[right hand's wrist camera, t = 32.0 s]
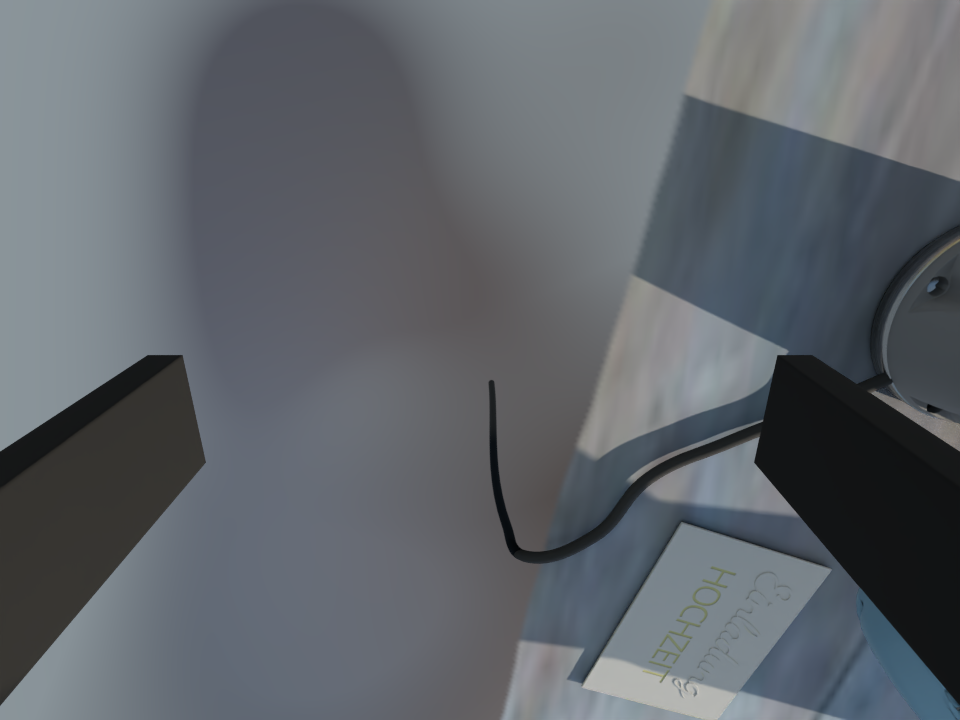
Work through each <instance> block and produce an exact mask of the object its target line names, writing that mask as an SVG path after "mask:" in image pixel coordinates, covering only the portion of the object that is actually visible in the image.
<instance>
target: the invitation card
mask: <svg viewBox="0 0 960 720" xmlns="http://www.w3.org/2000/svg"><path fill="white" fill-rule="evenodd" d="M831 571H832V569H831V568H828V567H825V566H822V565H819V564H815V563H812V562H809V561H806V560H803V559H799V558H796V557H793V556H790V555H787V554H783V553H780V552H777V551H774V550H771V549H767V548H764V547H761V546H758V545H754V544H751V543H748V542H745V541H742V540H738V539H735V538H732V537H729V536H726V535H722V534H719V533H716V532H713V531H710V530H706V529H703V528H700V527H697V526H694V525H690V524H687V523H684V522H681V523H680V525H679V526H678V528H677V530H676V531H675V533H674V535H673V536H672V538H671V540H670V541H669V543H668V544H667V546H666V548H665V549H664V551H663V553H662V554H661V556H660V558H659V559H658V561H657V562H656V564H655V566H654V567H653V569H652V571H651V572H650V574H649V576H648V577H647V579H646V581H645V582H644V584H643V585H642V587H641V589H640V590H639V592H638V594H637V595H636V597H635V599H634V600H633V602H632V603H631V605H630V607H629V608H628V610H627V612H626V613H625V615H624V617H623V618H622V620H621V621H620V623H619V625H618V626H617V628H616V630H615V631H614V633H613V635H612V636H611V638H610V639H609V641H608V643H607V644H606V646H605V648H604V649H603V651H602V653H601V654H600V656H599V658H598V659H597V661H596V662H595V664H594V666H593V667H592V669H591V671H590V672H589V674H588V676H587V677H586V679H585V680H584V682H583V684H582V685H581V686H582V688H586V689H590V690H593V691H597V692H601V693H605V694H609V695H613V696H616V697H620V698H624V699H628V700H632V701H635V702H639V703H643V704H647V705H651V706H654V707H658V708H662V709H666V710H670V711H674V712H677V713H681V714H685V715H689V716H693V717H696V718H700V719H704V720H717V719H718V718H719V717H720V716H721V714H722V713H723V712H724V710H725V709H726V708H727V706H728V705H729V704H730V702H731V701H732V700H733V699H734V697H735V696H736V695H737V693H738V692H739V691H740V689H741V688H742V687H743V686H744V684H745V683H746V682H747V680H748V679H749V678H750V676H751V675H752V674H753V672H754V671H755V670H756V669H757V667H758V666H759V665H760V663H761V662H762V661H763V659H764V658H765V657H766V656H767V654H768V653H769V652H770V650H771V649H772V648H773V646H774V645H775V644H776V642H777V641H778V640H779V639H780V637H781V636H782V635H783V633H784V632H785V631H786V629H787V628H788V627H789V626H790V624H791V623H792V622H793V620H794V619H795V618H796V616H797V615H798V614H799V612H800V611H801V610H802V609H803V607H804V606H805V605H806V603H807V602H808V601H809V599H810V598H811V597H812V595H813V594H814V593H815V592H816V590H817V589H818V588H819V586H820V585H821V584H822V582H823V581H824V580H825V579H826V577H827V576H828V575H829V573H830V572H831Z"/></svg>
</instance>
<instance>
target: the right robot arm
mask: <svg viewBox="0 0 960 720" xmlns="http://www.w3.org/2000/svg"><path fill="white" fill-rule="evenodd" d="M871 355H872V360H873V364H874V367H875V370H876V373H877V374H878V375H877V376H875V377H872V378H870V379H868V380H865V381H863V382H861V383H858V384H855V383H854V382H852V381H851V380H849V379H848V378H846V377H845V376H843V375H842V374H840V373H839V372H837V371H836V370H834V369H833V368H831V367H829V366H828V365H826V364H825V363H823V362H822V361H820V360H819V359H817V358H816V357H814V356H813V355H777V360H776V364H775V369H774V374H773V378H772V383H771V388H770V392H769V397H768V401H767V406H766V411H765V415H764V420H763V422H761V423H758V424H756V425H753V426H751V427H748V428H746V429H743V430H741V431H738V432H736V433H733V434H731V435H729V436H726V437H724V438H721V439H719V440H716V441H714V442H711V443H709V444H706V445H703V446H700V447H698V448H695V449H692V450H690V451H687V452H684V453H682V454H679V455H677V456H675V457H672V458H670V459H668V460H666V461H664V462H662V463H661V464H659V465H657V466H655V467H654V468H652V469H651V470H649V471H648V472H646V473H645V474H644V475H642V476H641V477H640V478H638V479H637V480H636V481H635V482H634V483H633V484H632V485H631V486H630V487H629V489H628V490H627V491H626V492H625V493H624V495H623V496H622V498H621V499H620V500H619V502H618V503H617V505H616V506H615V508H614V509H613V510H612V512H611V513H610V514H609V516H608V517H607V518H606V519H605V520H604V521H603V522H602V523H601V524H600V525H599V526H598V527H596V528H595V529H593V530H592V531H590V532H589V533H587V534H586V535H584V536H582V537H580V538H579V539H577V540H575V541H573V542H571V543H569V544H567V545H564V546H562V547H559V548H556V549H553V550H549V551H543V552H531V551H526V550H523V549H521V548H520V547H519V546H518V545H517V543H516V539H515V535H514V531H513V528H512V525H511V522H510V519H509V516H508V513H507V510H506V506H505V502H504V498H503V494H502V488H501V483H500V475H499V467H498V453H497V420H496V394H495V383H494V381H493V380H490V381H489V383H488V384H489V410H490V411H489V412H490V414H489V446H490V470H491V479H492V487H493V493H494V499H495V503H496V507H497V512H498V515H499V518H500V522H501V525H502V528H503V532H504V536H505V541H506V544H507V547H508V549H509V552H510V553H511V554H512V555H513V556H514V557H515V558H517V559H519V560H521V561H523V562H528V563H536V564H541V563H549V562H554V561H558V560H561V559H564V558H566V557H569V556H571V555H573V554H576V553H578V552H580V551H581V550H583V549H585V548H587V547H589V546H590V545H592V544H594V543H595V542H597V541H598V540H600V539H601V538H603V537H604V536H605V535H607V534H608V533H609V532H610V531H611V530H612V529H613V528H614V527H615V526H616V525H617V524H618V522H619V521H620V520H621V519H622V517H623V516H624V514H625V513H626V512H627V510H628V509H629V507H630V506H631V505H632V503H633V502H634V501H635V499H636V498H637V497H638V496H639V495H640V494H641V493H642V492H643V491H644V490H645V489H646V488H647V487H648V486H650V485H651V484H652V483H654V482H655V481H657V480H658V479H660V478H661V477H663V476H665V475H666V474H668V473H670V472H672V471H674V470H676V469H678V468H681V467H683V466H685V465H688V464H690V463H693V462H696V461H698V460H701V459H704V458H707V457H709V456H712V455H715V454H717V453H720V452H723V451H725V450H728V449H730V448H733V447H735V446H737V445H740V444H742V443H745V442H747V441H750V440H752V439H755V438H757V437H760V438H759V443H758V447H757V452H756V457H755V461H754V463H755V464H756V465H757V466H758V468H759V469H760V470H761V471H762V472H763V473H764V475H765V476H766V477H767V478H768V479H769V481H770V482H771V483H772V484H773V485H774V486H775V488H776V489H777V490H778V491H779V492H780V494H781V495H782V496H783V497H784V498H785V499H786V501H787V502H788V503H789V504H790V505H791V507H792V508H793V509H794V510H795V511H796V512H797V514H798V515H799V516H800V517H801V518H802V520H803V521H804V522H805V523H806V524H807V525H808V527H809V528H810V529H811V530H812V531H813V533H814V534H815V535H816V536H817V537H818V538H819V540H820V541H821V542H822V543H823V544H824V546H825V547H826V548H827V549H828V550H829V551H830V553H831V554H832V555H833V556H834V557H835V559H836V560H837V561H838V562H839V563H840V565H841V566H842V567H843V568H844V569H845V570H846V572H847V573H848V574H849V575H850V576H851V578H852V579H853V580H854V581H855V582H856V583H857V585H858V586H859V587H860V588H859V590H858V593H857V598H856V606H857V614H858V617H859V620H860V624H861V628H862V631H863V633H864V635H865V638H866V640H867V642H868V644H869V646H870V648H871V650H872V652H873V653H874V655H875V657H876V659H877V660H878V662H879V663H880V665H881V667H882V668H883V670H884V671H885V673H886V674H887V676H888V677H889V679H890V680H891V682H892V683H893V685H894V686H895V687H896V689H897V690H898V692H899V693H900V694H901V696H902V697H903V698H904V700H905V701H906V702H907V703H908V705H909V706H910V707H911V709H912V710H913V711H914V712H915V714H916V715H917V716H918V717H919V718H920V720H960V451H958V450H956V449H955V448H953V447H952V446H950V445H949V444H947V443H946V442H944V441H943V440H941V439H940V438H938V437H937V436H935V435H934V434H932V433H930V432H929V431H927V430H926V429H924V428H923V427H921V426H920V425H918V424H917V423H915V422H914V421H912V420H911V419H909V418H908V417H906V416H904V415H903V414H901V413H900V412H898V411H897V410H895V409H894V408H892V407H891V406H889V405H888V404H886V403H885V402H883V401H881V400H880V399H878V398H877V397H875V396H874V395H872V394H871V392H874V391H876V390H879V389H881V388H883V387H886V388H887V389H888V390H889V391H890V392H891V393H892V394H893V395H894V396H896V397H897V398H899V399H900V400H902V401H903V402H905V403H906V404H908V405H910V406H911V407H913V408H914V409H916V410H918V411H920V412H922V413H924V414H926V415H928V416H931V417H934V418H938V419H942V420H946V421H950V422H955V423H960V226H958V227H956V228H954V229H952V230H950V231H949V232H947V233H945V234H943V235H942V236H940V237H938V238H937V239H935V240H934V241H933V242H931V243H930V244H928V245H927V246H926V247H925V248H923V249H922V250H921V251H920V252H919V253H917V254H916V255H915V256H914V257H913V258H912V259H911V260H910V261H909V262H908V263H907V264H906V265H905V266H904V268H903V269H902V270H901V271H900V272H899V274H898V275H897V276H896V277H895V279H894V280H893V282H892V283H891V285H890V286H889V288H888V289H887V291H886V293H885V295H884V296H883V298H882V300H881V303H880V305H879V307H878V309H877V312H876V315H875V318H874V323H873V327H872V333H871ZM205 463H206V461H205V457H204V452H203V447H202V443H201V438H200V434H199V429H198V424H197V420H196V415H195V411H194V406H193V401H192V397H191V392H190V388H189V383H188V378H187V374H186V369H185V365H184V360H183V356H182V355H147V356H146V357H144V358H143V359H141V360H140V361H138V362H137V363H135V364H134V365H132V366H131V367H129V368H127V369H126V370H124V371H123V372H121V373H120V374H118V375H117V376H115V377H114V378H112V379H111V380H109V381H108V382H106V383H105V384H103V385H102V386H100V387H98V388H97V389H95V390H94V391H92V392H91V393H89V394H88V395H86V396H85V397H83V398H82V399H80V400H79V401H77V402H75V403H74V404H72V405H71V406H69V407H68V408H66V409H65V410H63V411H62V412H60V413H59V414H57V415H56V416H54V417H52V418H51V419H50V420H48V421H46V422H45V423H43V424H42V425H40V426H39V427H37V428H36V429H34V430H33V431H31V432H30V433H28V434H27V435H25V436H23V437H22V438H20V439H19V440H17V441H16V442H14V443H13V444H11V445H10V446H8V447H7V448H5V449H4V450H2V451H0V705H1V704H2V703H3V702H4V701H5V699H6V698H7V697H8V696H9V695H10V693H11V692H12V691H13V690H14V689H15V688H16V686H17V685H18V684H19V683H20V682H21V680H22V679H23V678H24V677H25V676H26V674H27V673H28V672H29V671H30V670H31V669H32V667H33V666H34V665H35V664H36V663H37V661H38V660H39V659H40V658H41V657H42V656H43V654H44V653H45V652H46V651H47V650H48V648H49V647H50V646H51V645H52V644H53V643H54V641H55V640H56V639H57V638H58V637H59V635H60V634H61V633H62V632H63V631H64V629H65V628H66V627H67V626H68V625H69V624H70V622H71V621H72V620H73V619H74V618H75V617H76V615H77V614H78V613H79V612H80V611H81V609H82V608H83V607H84V606H85V605H86V604H87V602H88V601H89V600H90V599H91V598H92V596H93V595H94V594H95V593H96V592H97V590H98V589H99V588H100V587H101V586H102V585H103V583H104V582H105V581H106V580H107V579H108V578H109V576H110V575H111V574H112V573H113V572H114V570H115V569H116V568H117V567H118V566H119V564H120V563H121V562H122V561H123V560H124V559H125V557H126V556H127V555H128V554H129V553H130V551H131V550H132V549H133V548H134V547H135V545H136V544H137V543H138V542H139V541H140V540H141V538H142V537H143V536H144V535H145V534H146V533H147V531H148V530H149V529H150V528H151V527H152V525H153V524H154V523H155V522H156V521H157V520H158V518H159V517H160V516H161V515H162V514H163V512H164V511H165V510H166V509H167V508H168V507H169V505H170V504H171V503H172V502H173V501H174V499H175V498H176V497H177V496H178V495H179V493H180V492H181V491H182V490H183V489H184V488H185V486H186V485H187V484H188V483H189V482H190V480H191V479H192V478H193V477H194V476H195V475H196V473H197V472H198V471H199V470H200V469H201V467H202V466H203V465H204V464H205Z"/></svg>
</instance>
